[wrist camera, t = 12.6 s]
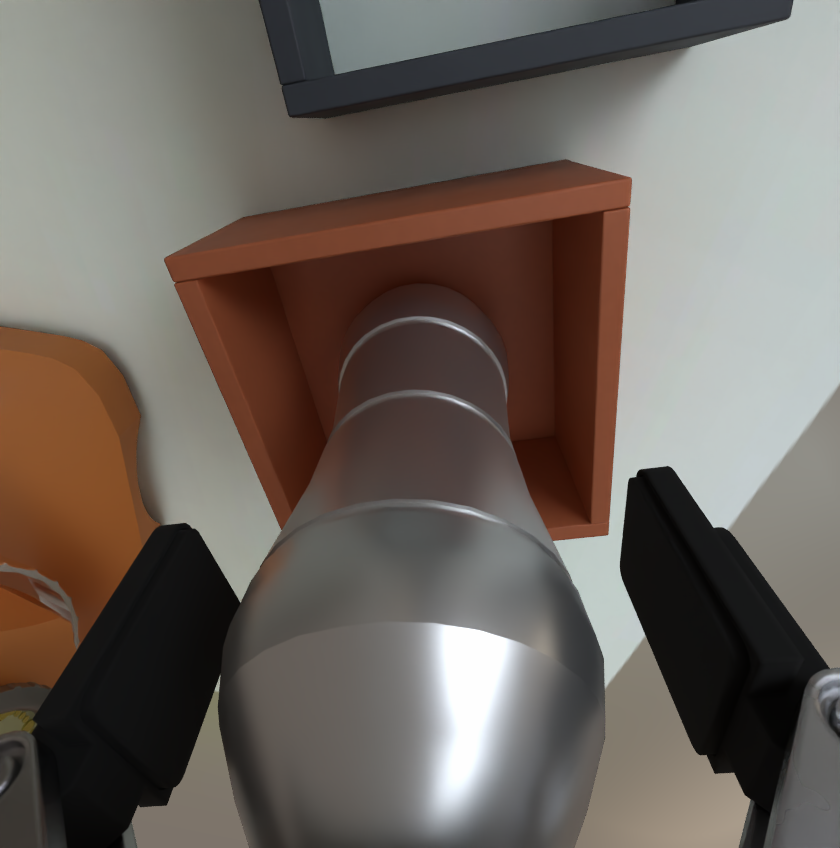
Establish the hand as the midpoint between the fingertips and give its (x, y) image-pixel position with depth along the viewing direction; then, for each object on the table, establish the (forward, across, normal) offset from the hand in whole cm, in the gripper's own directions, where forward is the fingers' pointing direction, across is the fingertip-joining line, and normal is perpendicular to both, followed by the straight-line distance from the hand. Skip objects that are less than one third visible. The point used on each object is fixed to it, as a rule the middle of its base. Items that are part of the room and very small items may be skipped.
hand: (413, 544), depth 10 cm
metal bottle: (+12, 0, +1) cm, 12 cm away
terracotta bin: (+12, 0, +1) cm, 12 cm away
